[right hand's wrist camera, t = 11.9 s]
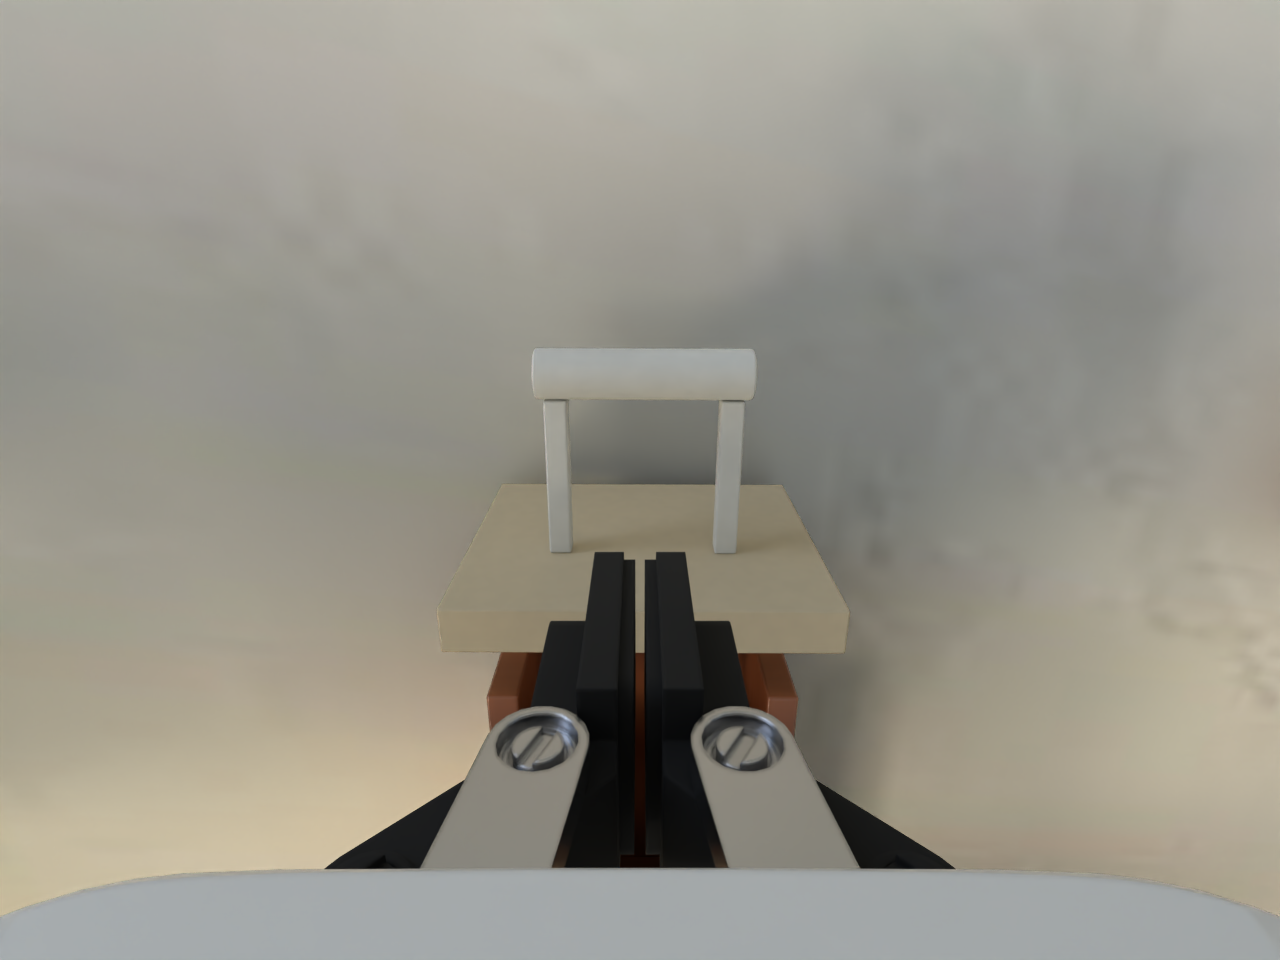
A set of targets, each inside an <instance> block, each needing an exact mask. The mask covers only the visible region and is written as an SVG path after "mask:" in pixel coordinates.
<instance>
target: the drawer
mask: <svg viewBox="0 0 1280 960" xmlns="http://www.w3.org/2000/svg"><path fill="white" fill-rule="evenodd" d="M531 375H532V388H533V393H534V396H535V398H537V399H545V400H544V402H543V415H544V436H545V457H546V479H547V484H502V485H501V487H500V489H499V491H498V493H497V495H496V497H495V499H494V501H493V503H492V504H491V506H490V508H489V510H488V512H487V514H486V516H485V518H484V520H483V522H482V524H481V526H480V528H479V529H478V531H477V533H476V535H475V537H474V539H473V541H472V543H471V545H470V547H469V549H468V551H467V552H466V554H465V556H464V558H463V560H462V562H461V564H460V566H459V568H458V570H457V572H456V574H455V575H454V577H453V579H452V581H451V583H450V585H449V587H448V589H447V591H446V593H445V595H444V597H443V598H442V600H441V602H440V604H439V606H438V608H437V610H436V611H437V620H438V628H439V637H440V645H441V651H442V652H501V654H500V657H499V661H498V664H497V667H496V670H495V673H494V676H493V679H492V682H491V686H490V689H489V692H488V695H487V705H488V716H489V727H490V731H491V730H492V728H493V727H494V726H495V724H497V723H498V722H499V721H501V720H502V719H503V718H505V717H506V716H508V715H510V714H512V713H514V712H517V711H519V710H521V709H526V708H530V707H531V702H532V698H533V693H534V689H535V684H536V680H537V675H538V671H539V667H540V662H541V658H542V653H543V649H544V644H545V640H546V635H547V631H548V627H549V623H550V622H551V621H585V619H586V612H587V605H588V597H589V590H590V583H591V575H592V568H593V560H594V553H595V552H624V559H635V614H636V715H635V825H634V855H620V868H660V855H646V825H645V715H644V614H645V559H656V552H685V553H686V560H687V568H688V575H689V583H690V590H691V597H692V605H693V612H694V619H695V621H729V622H730V623H731V627H732V631H733V635H734V640H735V644H736V649H737V653H738V658H739V662H740V667H741V671H742V675H743V680H744V684H745V689H746V693H747V698H748V702H749V707H750V708H754V709H759V710H761V711H763V712H766V713H768V714H770V715H772V716H774V717H775V718H777V719H778V720H779V721H781V722H782V723H783V724H785V726H786V727H787V728H788V730H789V731H790V733H791V734H792V735H793V737H794V735H795V726H796V716H797V707H798V696H797V693H796V690H795V687H794V684H793V681H792V678H791V675H790V672H789V669H788V666H787V663H786V660H785V657H784V654H783V653H826V654H843V653H845V649H846V641H847V634H848V626H849V619H850V610H849V608H848V606H847V605H846V603H845V601H844V599H843V597H842V595H841V593H840V592H839V590H838V588H837V586H836V584H835V582H834V580H833V578H832V577H831V575H830V573H829V571H828V569H827V567H826V565H825V564H824V562H823V560H822V558H821V556H820V554H819V552H818V551H817V549H816V547H815V545H814V543H813V541H812V539H811V537H810V536H809V534H808V532H807V530H806V528H805V526H804V524H803V523H802V521H801V519H800V517H799V515H798V513H797V511H796V510H795V508H794V506H793V504H792V502H791V500H790V498H789V497H788V495H787V493H786V491H785V489H784V487H783V485H740V481H741V465H742V449H743V432H744V416H745V402H744V400H752V399H753V397H754V395H755V391H756V385H757V358H756V354H755V351H754V350H753V349H677V348H536V349H534V352H533V355H532V367H531ZM569 399H577V400H719V417H718V438H717V459H716V481H715V485H664V484H571V459H570V429H569Z"/></svg>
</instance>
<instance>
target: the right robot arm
mask: <svg viewBox="0 0 1280 960" xmlns="http://www.w3.org/2000/svg"><path fill="white" fill-rule="evenodd" d="M635 715H636V614H635V559H624V552H595V553H594V560H593V568H592V575H591V583H590V590H589V597H588V605H587V612H586V619H585V621H551V622H550V623H549V627H548V631H547V635H546V640H545V644H544V649H543V653H542V658H541V662H540V667H539V671H538V675H537V680H536V684H535V689H534V693H533V698H532V702H531V707H530V708H526V709H521V710H519V711H517V712H514V713H512V714H510V715H508V716H506V717H505V718H503V719H502V720H501V721H499V722H498V723H497V724H495V726H494V727H493V728H492V730H491V731H490V733H489V734H488V735H487V737H486V739H485V741H484V743H483V745H482V747H481V749H480V751H479V753H478V755H477V757H476V759H475V761H474V763H473V765H472V767H471V769H470V771H469V773H468V775H467V777H466V779H465V780H464V781H462V782H460V783H459V784H457V785H456V786H454V787H452V788H451V789H449V790H447V791H446V792H444V793H443V794H441V795H439V796H438V797H436V798H434V799H433V800H431V801H430V802H428V803H426V804H425V805H423V806H422V807H420V808H418V809H417V810H415V811H413V812H412V813H410V814H409V815H407V816H405V817H404V818H402V819H401V820H399V821H397V822H396V823H394V824H392V825H391V826H389V827H388V828H386V829H384V830H383V831H381V832H380V833H378V834H376V835H375V836H373V837H371V838H370V839H368V840H367V841H365V842H363V843H362V844H360V845H359V846H357V847H355V848H354V849H352V850H350V851H349V852H347V853H346V854H344V855H342V856H341V857H339V858H338V859H337V860H335V861H334V862H333V863H331V864H330V865H329V866H327V867H326V868H325V869H279V870H254V871H228V872H203V873H182V874H173V875H164V876H156V877H147V878H138V879H132V880H127V881H122V882H117V883H112V884H107V885H102V886H97V887H92V888H88V889H83V890H79V891H76V892H73V893H69V894H66V895H63V896H59V897H56V898H53V899H50V900H46V901H43V902H40V903H37V904H33V905H30V906H27V907H24V908H21V909H19V910H16V911H14V912H11V913H8V914H6V915H3V916H1V917H0V960H1280V917H1279V916H1277V915H1274V914H1272V913H1269V912H1266V911H1264V910H1261V909H1259V908H1256V907H1253V906H1250V905H1247V904H1243V903H1240V902H1237V901H1234V900H1230V899H1227V898H1224V897H1221V896H1217V895H1214V894H1211V893H1207V892H1204V891H1201V890H1197V889H1192V888H1188V887H1183V886H1178V885H1173V884H1168V883H1163V882H1158V881H1153V880H1148V879H1142V878H1133V877H1124V876H1116V875H1107V874H1098V873H1077V872H1051V871H1026V870H1001V869H999V870H991V869H955V868H954V867H953V866H951V865H950V864H949V863H947V862H946V861H945V860H943V859H942V858H941V857H939V856H938V855H936V854H934V853H933V852H931V851H930V850H928V849H926V848H925V847H923V846H921V845H920V844H918V843H917V842H915V841H913V840H912V839H910V838H909V837H907V836H905V835H904V834H902V833H900V832H899V831H897V830H896V829H894V828H892V827H891V826H889V825H888V824H886V823H884V822H883V821H881V820H879V819H878V818H876V817H875V816H873V815H871V814H870V813H868V812H867V811H865V810H863V809H862V808H860V807H858V806H857V805H855V804H854V803H852V802H850V801H849V800H847V799H846V798H844V797H842V796H841V795H839V794H837V793H836V792H834V791H833V790H831V789H829V788H828V787H826V786H824V785H823V784H821V783H820V782H818V781H816V780H815V779H814V777H813V775H812V773H811V771H810V769H809V767H808V765H807V763H806V761H805V759H804V757H803V755H802V753H801V751H800V749H799V747H798V745H797V743H796V741H795V739H794V737H793V735H792V734H791V733H790V731H789V730H788V728H787V727H786V726H785V724H783V723H782V722H781V721H779V720H778V719H777V718H775V717H774V716H772V715H770V714H768V713H766V712H763V711H761V710H759V709H754V708H750V707H749V702H748V698H747V693H746V689H745V684H744V680H743V675H742V671H741V667H740V662H739V658H738V653H737V649H736V644H735V640H734V635H733V631H732V627H731V623H730V622H729V621H695V619H694V612H693V605H692V597H691V590H690V583H689V575H688V568H687V560H686V553H685V552H656V559H645V614H644V715H645V825H646V855H660V868H620V855H634V825H635Z"/></svg>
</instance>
